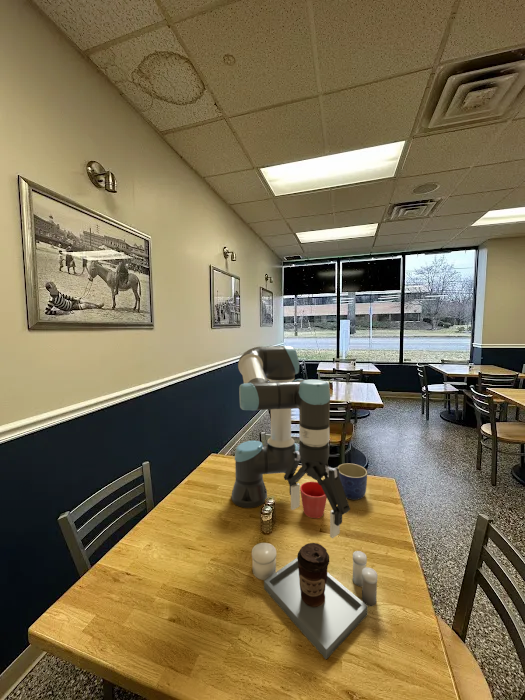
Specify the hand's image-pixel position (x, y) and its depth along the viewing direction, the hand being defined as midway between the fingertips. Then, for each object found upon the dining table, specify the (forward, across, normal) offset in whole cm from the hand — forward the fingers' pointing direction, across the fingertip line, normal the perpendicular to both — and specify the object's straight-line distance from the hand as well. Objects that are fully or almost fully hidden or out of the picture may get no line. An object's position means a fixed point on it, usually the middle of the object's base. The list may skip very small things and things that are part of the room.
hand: (313, 520), depth 75 cm
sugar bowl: (+23, -16, -4) cm, 28 cm away
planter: (+23, -23, +50) cm, 60 cm away
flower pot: (+23, -25, +28) cm, 44 cm away
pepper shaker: (+23, +9, +12) cm, 27 cm away
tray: (+23, 0, 0) cm, 23 cm away
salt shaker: (+23, +4, +15) cm, 27 cm away
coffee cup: (+22, 0, 0) cm, 22 cm away
